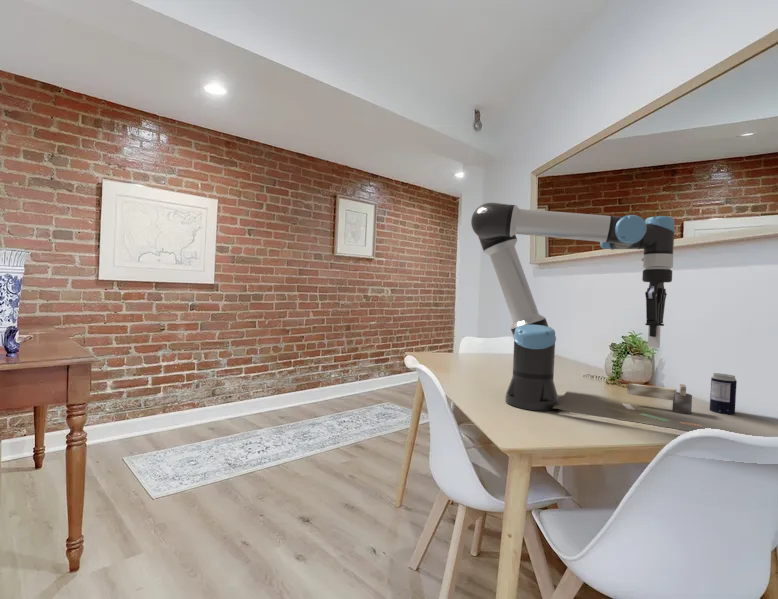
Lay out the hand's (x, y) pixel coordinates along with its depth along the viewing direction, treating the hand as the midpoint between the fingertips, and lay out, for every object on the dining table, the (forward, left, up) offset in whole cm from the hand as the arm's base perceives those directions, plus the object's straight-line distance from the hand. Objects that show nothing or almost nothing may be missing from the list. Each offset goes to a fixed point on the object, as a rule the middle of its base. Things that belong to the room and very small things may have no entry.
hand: (653, 347), depth 127 cm
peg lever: (0, -5, -17) cm, 18 cm away
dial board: (+1, -11, -18) cm, 22 cm away
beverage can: (+17, +3, -19) cm, 26 cm away
